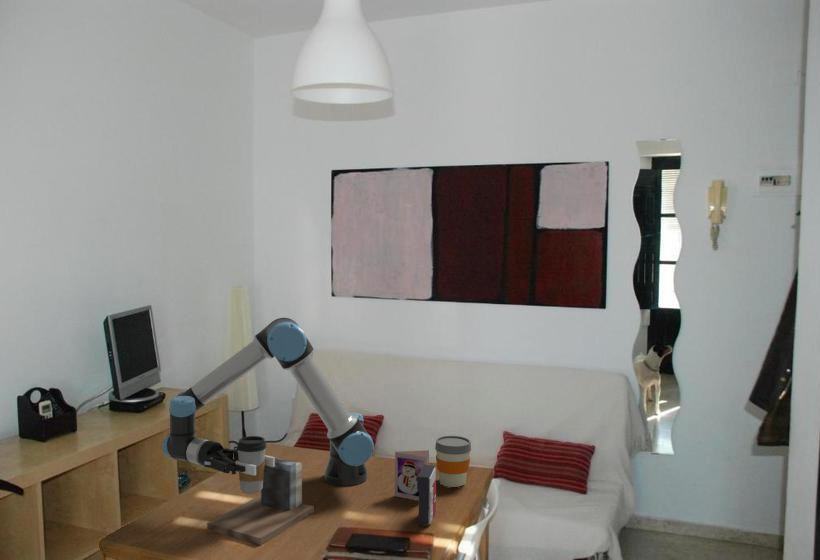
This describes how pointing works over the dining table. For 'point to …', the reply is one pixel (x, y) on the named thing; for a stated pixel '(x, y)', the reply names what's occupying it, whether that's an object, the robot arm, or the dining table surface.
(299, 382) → the robot arm
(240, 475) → the coffee cup
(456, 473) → the reusable coffee cup
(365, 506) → the dining table surface
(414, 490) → the greeting card
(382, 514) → the dining table surface
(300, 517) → the block on wooden base
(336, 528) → the dining table surface
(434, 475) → the dark grey box
